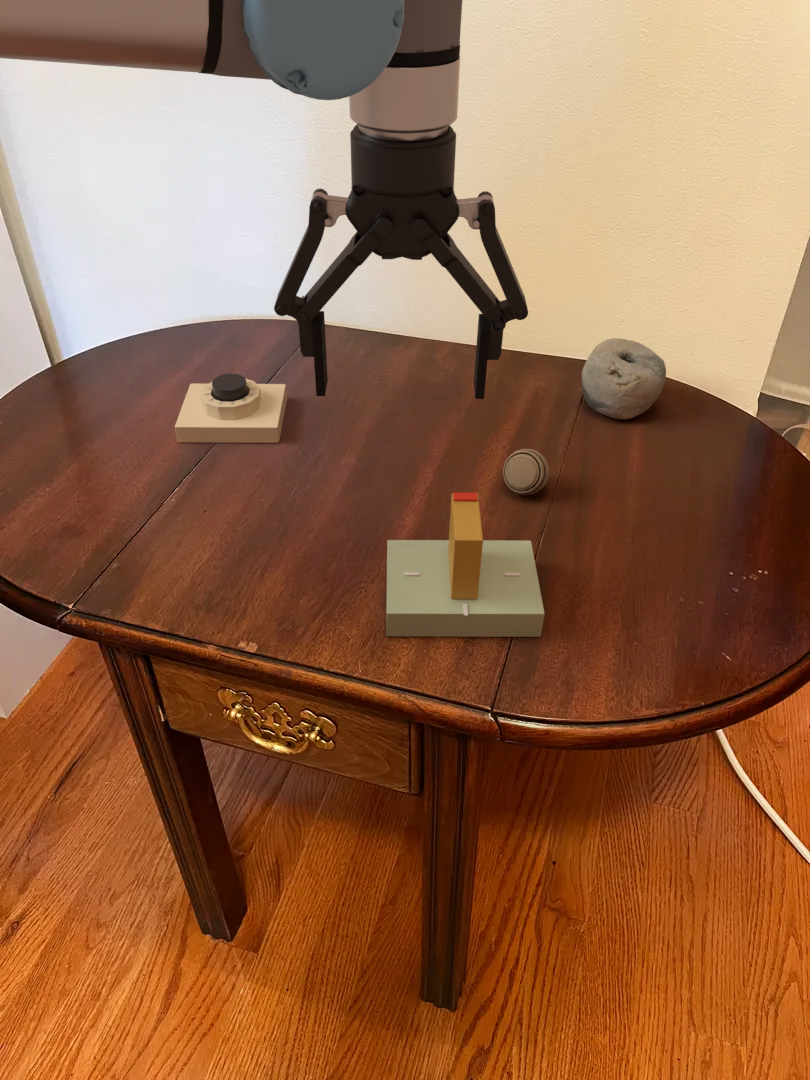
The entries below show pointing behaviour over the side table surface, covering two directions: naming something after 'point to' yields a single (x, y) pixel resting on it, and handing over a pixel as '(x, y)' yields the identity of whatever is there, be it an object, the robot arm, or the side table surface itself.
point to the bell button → (229, 387)
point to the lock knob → (465, 546)
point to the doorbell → (232, 415)
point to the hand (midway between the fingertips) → (400, 390)
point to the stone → (622, 378)
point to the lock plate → (430, 611)
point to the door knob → (526, 471)
